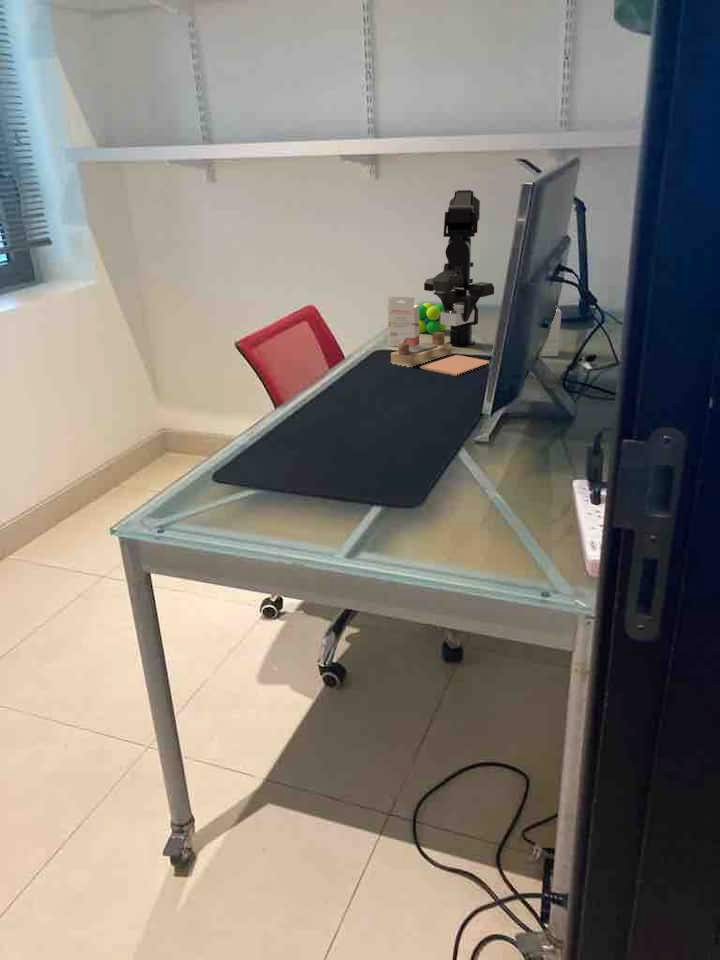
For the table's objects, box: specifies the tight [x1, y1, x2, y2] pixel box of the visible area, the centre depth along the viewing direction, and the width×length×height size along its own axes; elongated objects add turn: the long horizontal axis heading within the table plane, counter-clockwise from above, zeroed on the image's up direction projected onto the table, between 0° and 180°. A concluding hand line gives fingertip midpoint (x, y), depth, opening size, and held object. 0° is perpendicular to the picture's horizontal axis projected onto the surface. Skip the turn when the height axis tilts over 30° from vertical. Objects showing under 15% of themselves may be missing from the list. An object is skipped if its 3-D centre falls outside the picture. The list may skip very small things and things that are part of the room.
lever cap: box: [440, 302, 474, 326], centre depth 199 cm, size 8×5×4 cm, turn 137°
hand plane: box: [390, 331, 452, 368], centre depth 211 cm, size 18×7×6 cm, turn 137°
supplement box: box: [541, 306, 562, 357], centre depth 212 cm, size 7×7×13 cm
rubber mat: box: [419, 354, 490, 377], centre depth 205 cm, size 16×12×1 cm
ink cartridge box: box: [387, 295, 420, 347], centre depth 226 cm, size 9×5×15 cm, turn 68°
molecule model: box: [418, 302, 447, 335], centre depth 243 cm, size 9×9×9 cm
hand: (457, 320), depth 200 cm, fingers closed on lever cap, 5 cm apart
